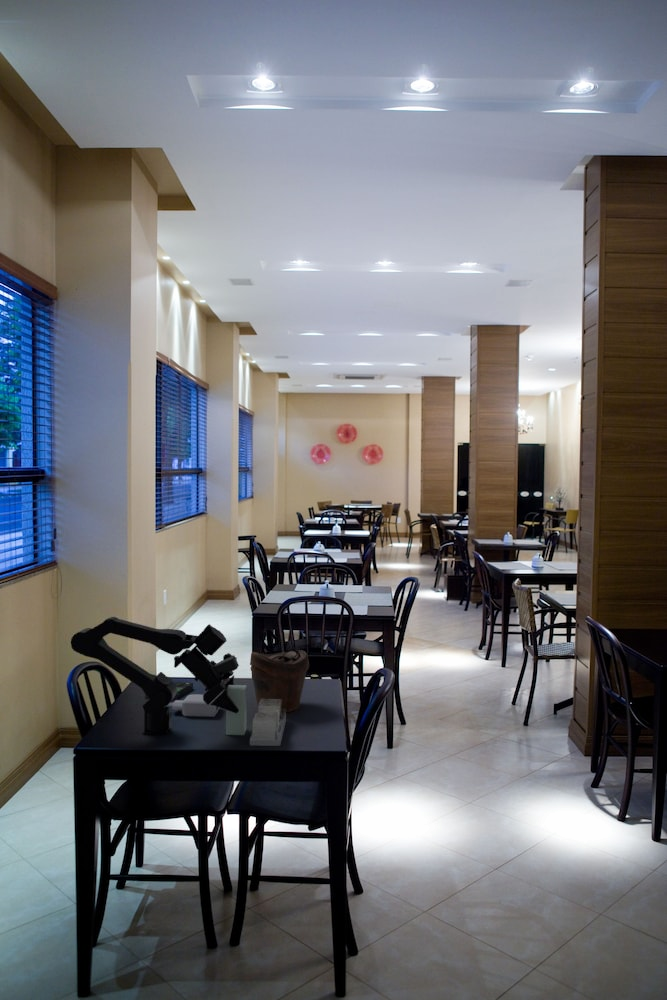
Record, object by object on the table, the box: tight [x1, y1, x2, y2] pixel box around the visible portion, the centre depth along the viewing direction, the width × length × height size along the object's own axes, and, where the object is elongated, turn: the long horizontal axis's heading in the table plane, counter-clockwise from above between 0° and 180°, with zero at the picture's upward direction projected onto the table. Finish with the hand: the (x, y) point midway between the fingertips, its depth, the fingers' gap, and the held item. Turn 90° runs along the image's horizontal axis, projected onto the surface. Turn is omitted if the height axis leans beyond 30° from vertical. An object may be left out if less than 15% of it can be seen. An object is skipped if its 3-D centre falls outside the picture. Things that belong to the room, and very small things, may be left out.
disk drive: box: [144, 681, 194, 702], centre depth 247 cm, size 10×3×15 cm
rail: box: [249, 699, 287, 747], centre depth 209 cm, size 8×21×6 cm, turn 0°
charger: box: [166, 693, 221, 718], centre depth 227 cm, size 5×9×15 cm
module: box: [225, 684, 248, 736], centre depth 209 cm, size 5×4×12 cm
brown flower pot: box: [249, 648, 310, 713], centre depth 234 cm, size 18×20×18 cm
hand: (240, 707), depth 209 cm, fingers open, 9 cm apart
